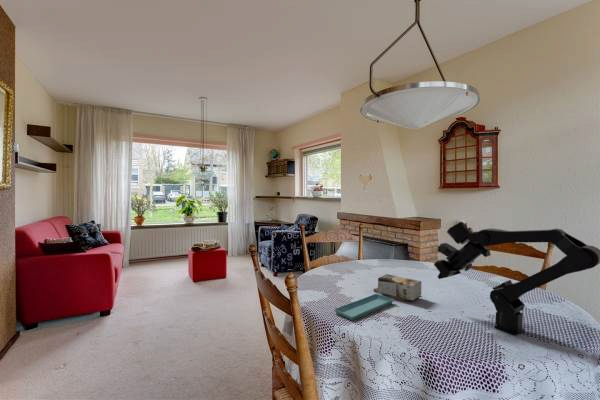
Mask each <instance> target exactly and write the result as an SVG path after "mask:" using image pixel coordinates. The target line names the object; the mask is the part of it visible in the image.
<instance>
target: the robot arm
mask: <svg viewBox="0 0 600 400" xmlns="http://www.w3.org/2000/svg"><path fill="white" fill-rule="evenodd" d="M446 233H447V234H448V235H449V236H450V237H451V239H452V240H453V241H454V242H455V243H456V244H457V245H460V244H461V245H463V246H462V247H461V248H460V249H457V248H456V247H455V246H452V245H451V244H449V243H448V242H444V243H440V244H439V245H438V246H437V252H439V253H441V254H442V255H443V256H446V258H445V259H439V260H436V261H435V262H434V263H433V266H434V267H435V268H436V269H437V270H438V272H439V274H437V278H438V279H439V280H441V279H445V278H450V277H453V276H457V275H460V274H461V271H463V270H464V272H468V271H469V270H471V269H472V268H473V264H472V263H474V262H475V260H476V259H478V258H479V257H480V256H483V257H484V258H487V257H490V256H491V248H488V247H491V246H496V245H503V244H507V243H509V244H510V243H517V244H518V243H521V244H522V243H551V244H553V245H554V246H555V247H556V248H557V249H558V250H560V251H561V252H562V253H563V254H564V255H565V256H563V258H561V259H560V260H559V261H558V262H557V263H555V264H552V265H550V266H548V267H546V268H544V269H542V270H540V271H538V272H536V273H534V274H532V275H530V276H528V277H526V278H524V279H522V280H520V281H517V282H512V280H511V279H508V280H506V281H504V282H502V283H500V284H498V285H495V286H494V287H492V288H491V289H493V290H491V291H490V292H489V299H490V301H491V302H492V304H493V305H494V307H495V311H496V312H495V325H494V326H493V328H495V329H498V330H500V331H502V332H505V333H507V334H510V335H513V336H517V335H520V334H522V333H524V332H526V329H525V328H523V327H524V326H523V325H524V324H523V321H524V319H523V318H524V317H523V316H524V315H523V312H521V311H523V310H524V308H525V306H526V305H525V304H524V302H523V301H522V300H521V299H520V298H521V297H522V296H524V295H526V293H528V292H531V291H533V290H536V289H537V288H539V287H542V286H544V285H546V284H547V283H550V282H553V281H555V280H557V279H559V278H562V277H564V276H566V275H569V274H574V273H577V272H583V271H586V270H590V269H593V268H595V267H597V266H598V265H599V264H600V248H598V247H596V246H594V245H589V244H586V243H584V242H583V241H582V240H580V239H578V238H577V237H574V236H572V235H570V234H569V233H568V232H566V231H564V230H563V229H562V228H561V229H560V228H553V229H535V230H533V229H532V230H506V229H500V228H499V229H498V228H485V229H481V230H478V231H472V230H471V229H470V228H468V226H467V225H466V223H465V222H464V221H459V222H457V223H456V224H454V225H453V226H451V227H449V228H448V230H447V231H446Z"/></svg>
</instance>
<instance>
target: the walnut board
mask: <svg viewBox="0 0 600 400" xmlns="http://www.w3.org/2000/svg"><path fill="white" fill-rule="evenodd" d="M373 292H374V293H376V294H379V295H382V296H385V297H389V298H392V299H394V300H398V301H402V302H407V301H410V300H409V299H405V298H401V297H397V296H393V295H389V294H385V293H381V292H378V287H376V288H373Z"/></svg>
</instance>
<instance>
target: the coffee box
mask: <svg viewBox="0 0 600 400" xmlns="http://www.w3.org/2000/svg"><path fill="white" fill-rule="evenodd" d="M377 288H378V292H381V293H385V294H389V295H393V296H397V297H401V298H405V299H409V300H408V301H415V300H416V299H417V298H419V297H420V296H422V280H418V279H412V278H410V277H409V278H408V277H403V276H398V275H393V274H388V273H386V274H385V275H381V276H379V277H378V278H377Z"/></svg>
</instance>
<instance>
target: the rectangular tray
mask: <svg viewBox="0 0 600 400" xmlns="http://www.w3.org/2000/svg"><path fill="white" fill-rule="evenodd" d="M394 301H395V298H392V297H389V296H386V295H383V294H380V293H375V294H371V295H369V296H366V297H363V298H361V299H358V300H356V301H355V300H354V301H353V302H349V303H346V304H344V305H342V306H341V305H340V306H339V307H336V308H334V312H335V313H336V314H337V315H339V316H341V317H342V318H346V319H347V318H348V320H350V321H354V320H358V319H359V318H361V317H364V316H367V315H369V314H372V313H374V312H377V311H378V310H380V309H383V308H386V307H388V306H390V305H392V304H393V302H394Z"/></svg>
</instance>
